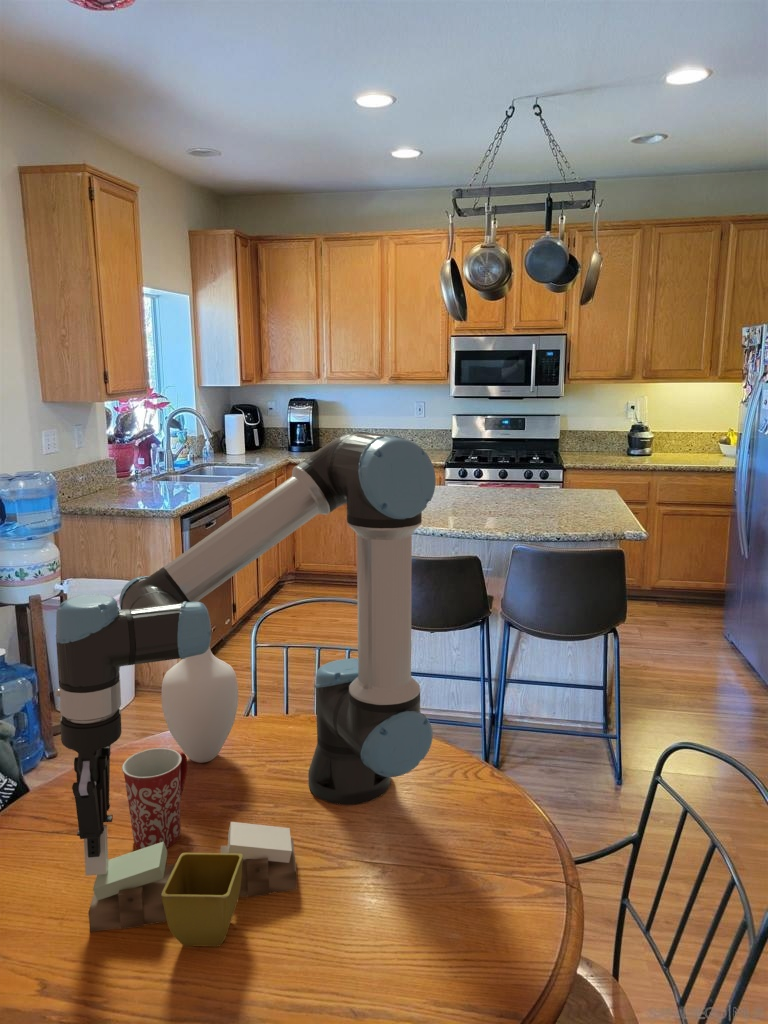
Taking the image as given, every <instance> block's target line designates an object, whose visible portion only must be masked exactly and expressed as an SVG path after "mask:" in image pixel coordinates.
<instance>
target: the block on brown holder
mask: <svg viewBox="0 0 768 1024" xmlns="http://www.w3.org/2000/svg"><path fill="white" fill-rule="evenodd" d="M291 848H292V852H291V857H290V861H289V863H286V862H276V861H268V858H262V859H245V858H243V862H242V876H241V887H240V893H239V898H245V897H248V898H252V897H260V896H268V895H270V894H275V893H284V892H285V893H286V892H291V891H292V892H293V891H298V881H297V878H298V875H297V864H296V855H295V854H296V853H295V844H294V838H293V837H291ZM219 853H228V844H227V845H221V846H220V852H219Z"/></svg>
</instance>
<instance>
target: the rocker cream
mask: <svg viewBox="0 0 768 1024" xmlns="http://www.w3.org/2000/svg"><path fill="white" fill-rule="evenodd" d="M290 829H291V828H290V827H283V826H272V825H267V824H266V825H264V824H256V823H245V822H238V821H237V822H236V821H230V824H229V829H228V833H227V835H228V836H227V845H228V853H239V854H242V855H243V858H245V859H262V858H268V861H276V862H286V863H289V861H290V857H291V852H292V848H291V838H292V837H291V830H290Z"/></svg>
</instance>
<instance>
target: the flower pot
mask: <svg viewBox="0 0 768 1024" xmlns="http://www.w3.org/2000/svg"><path fill="white" fill-rule="evenodd" d="M242 862H243V855H242V854H239V853H220V852H219V853H217V852H215V853H214V852H213V853H212V852H208V853H207V852H182V853H181V854H180V855H179V857H178V858H177V861H176V863H174V864H175V867H174V869H173V871H172V873H171V875H170V877H169V879H168V881H167V883H166V885H165V887H164V889H163V892H162V894H161V896H162V901H163V906H164V910H165V915H166V920H167V922H166V923H167V927H168V930H169V931H170V932H171V934H172V935H173V936H174V938H175V939H176V940H177V941H178V942H179V943H181V945H182V946H185V947H219V946H221V945H222V944H223V942H224V941H225V938H226V936H227V934H228V931H229V927H230V925H231V921H232V918H233V915H234V913H235V911H236V910H235V909H236V907H237V904H238V900H239V898H240V897H239V893H240V887H241V876H242Z"/></svg>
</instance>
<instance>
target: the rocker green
mask: <svg viewBox="0 0 768 1024" xmlns="http://www.w3.org/2000/svg"><path fill="white" fill-rule="evenodd" d="M167 857H168V849H167V848H166V847H165V844H164V841H163V842H160V843H157V844H154V845H151V846H148V847H145V848H142V849H139V848H138V849H137V850H134V851H131V852H128V853H124V854H122V855H119V856H116V857H113V858H110V859H109V858H108V870H107V873H106V874H100V875H96V878H95V880H94V883H93V887H92V891H93V894H94V893H95V896H96V898H97V901H98V900H101V899H104V898H107V897H110V896H112V895H115V894H118V893H119V890H123V889H131V888H136V887H139V886H142V885H145V884H148V883H151V882H154V881H157V880H160V879H163V877H164V871H165V865H167Z"/></svg>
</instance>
